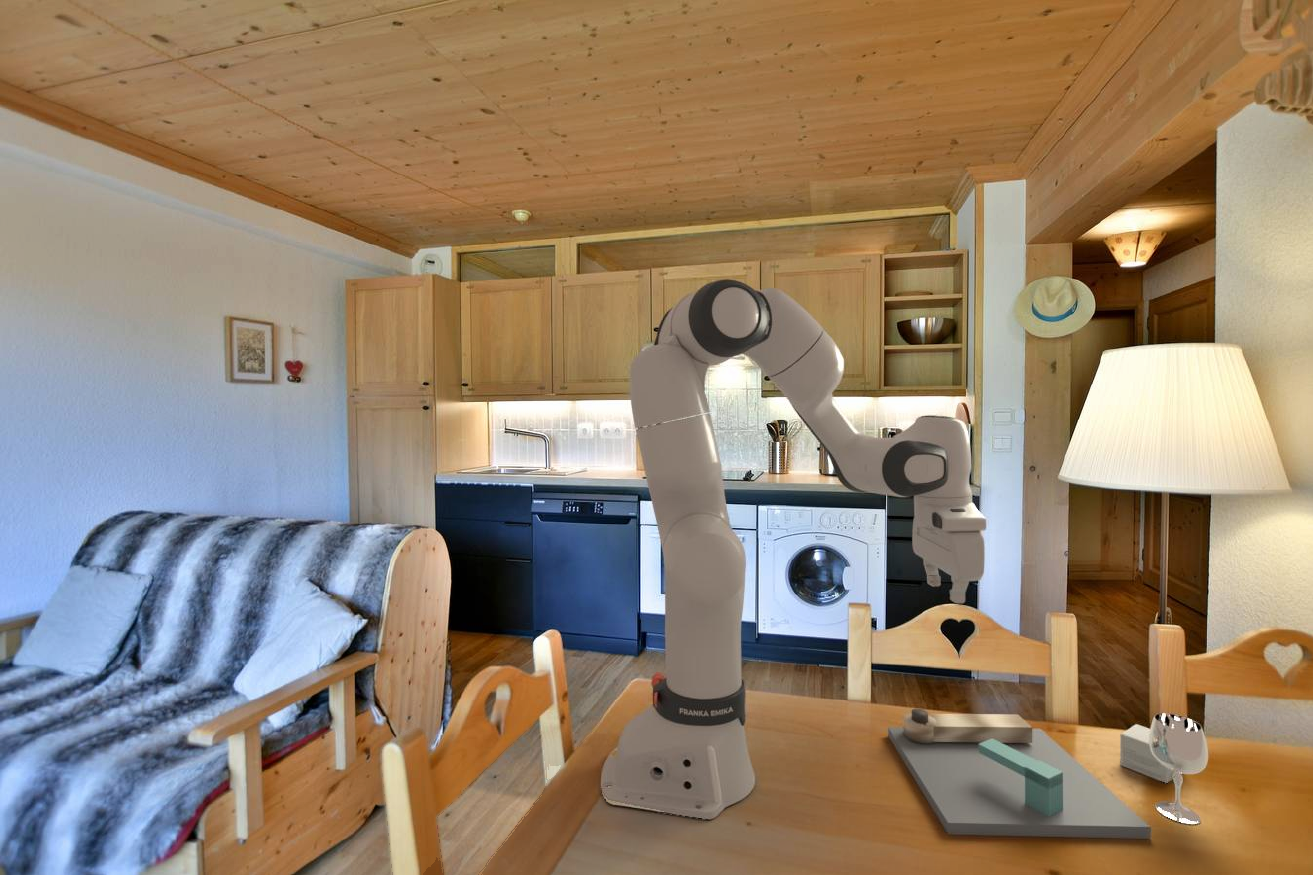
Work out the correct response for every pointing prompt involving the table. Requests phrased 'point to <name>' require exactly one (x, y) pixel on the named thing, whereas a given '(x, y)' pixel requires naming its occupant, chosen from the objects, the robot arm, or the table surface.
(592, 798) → the table surface
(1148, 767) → the small box
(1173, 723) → the wineglass
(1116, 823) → the base board
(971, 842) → the table surface
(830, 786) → the table surface
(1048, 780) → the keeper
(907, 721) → the link
